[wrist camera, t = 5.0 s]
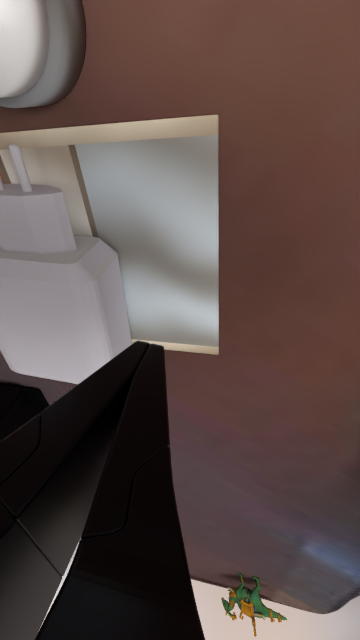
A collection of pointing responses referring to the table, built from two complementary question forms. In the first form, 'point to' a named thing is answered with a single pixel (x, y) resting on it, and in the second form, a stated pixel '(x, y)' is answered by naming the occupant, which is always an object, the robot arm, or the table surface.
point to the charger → (55, 287)
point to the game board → (132, 195)
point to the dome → (22, 45)
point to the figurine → (249, 603)
